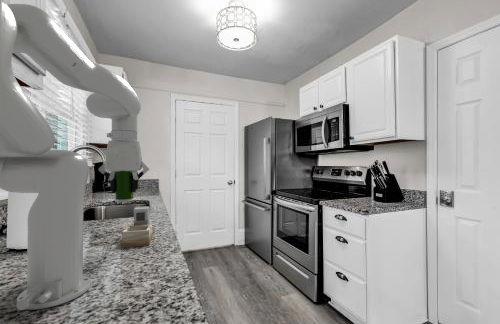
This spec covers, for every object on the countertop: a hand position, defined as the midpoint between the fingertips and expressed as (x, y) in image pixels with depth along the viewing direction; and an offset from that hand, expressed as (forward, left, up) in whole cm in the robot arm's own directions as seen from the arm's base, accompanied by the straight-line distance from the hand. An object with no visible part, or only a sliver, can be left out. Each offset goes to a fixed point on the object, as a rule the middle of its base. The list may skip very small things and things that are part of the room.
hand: (124, 191), depth 79 cm
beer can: (0, 0, -3) cm, 3 cm away
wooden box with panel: (+11, -3, -19) cm, 23 cm away
